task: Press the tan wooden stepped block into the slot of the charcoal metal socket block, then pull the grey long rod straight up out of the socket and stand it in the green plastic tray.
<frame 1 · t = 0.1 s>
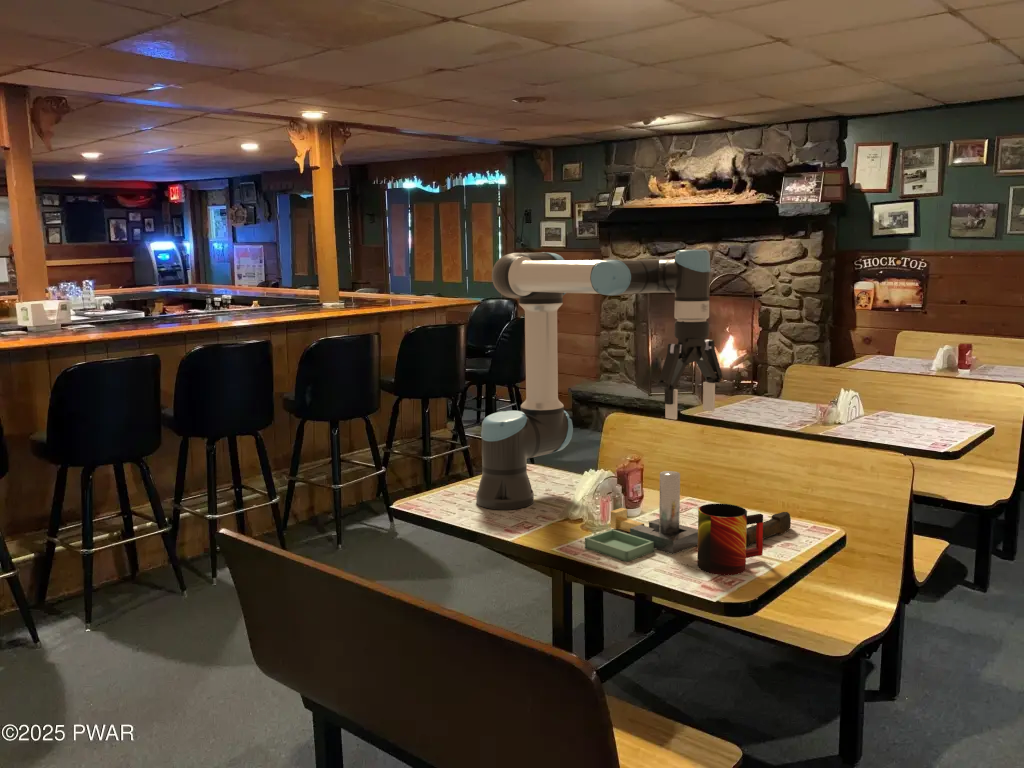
hand: (690, 414, 188), 28 cm above the table, fingers open, 13 cm apart
mug: (726, 564, 173), on the table
grey long rod: (669, 543, 186), resting in socket block
socket block: (665, 542, 186), on the table
tan wooden stepped block: (628, 521, 194), point 2 cm above the table, slide at 0.0 cm
tray: (619, 549, 182), on the table
hand tool: (763, 538, 189), on the table
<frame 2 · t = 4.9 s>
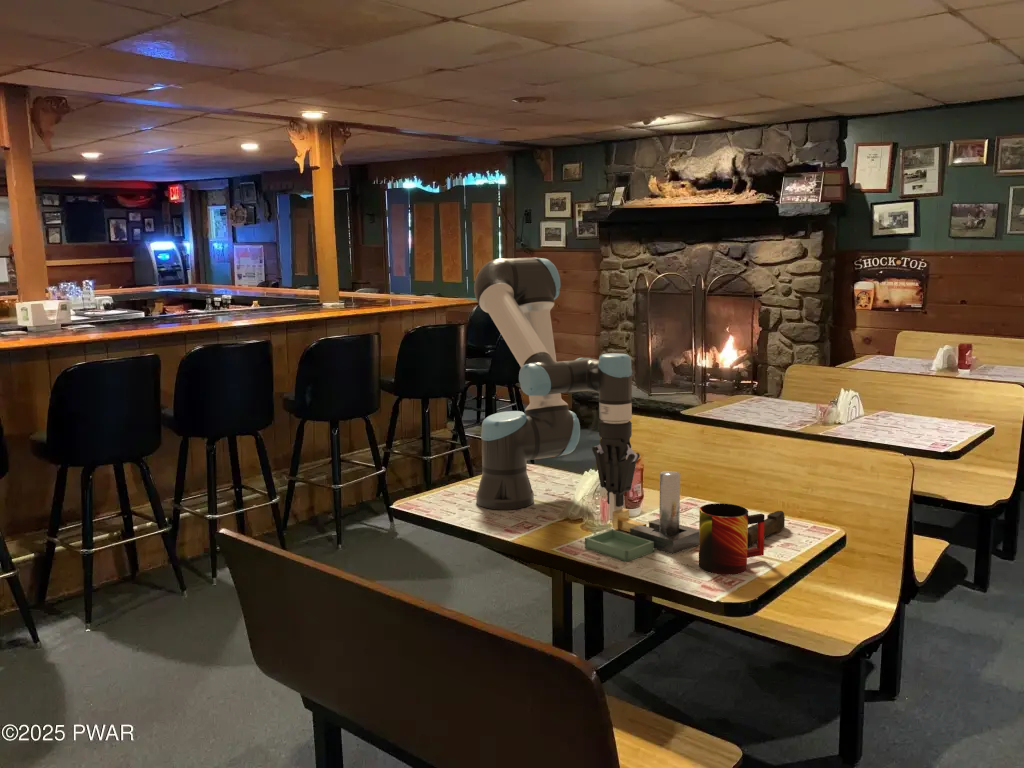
hand: (615, 518, 197), 2 cm above the table, fingers closed
tan wooden stepped block: (630, 522, 194), point 2 cm above the table, slide at 0.6 cm, touching gripper
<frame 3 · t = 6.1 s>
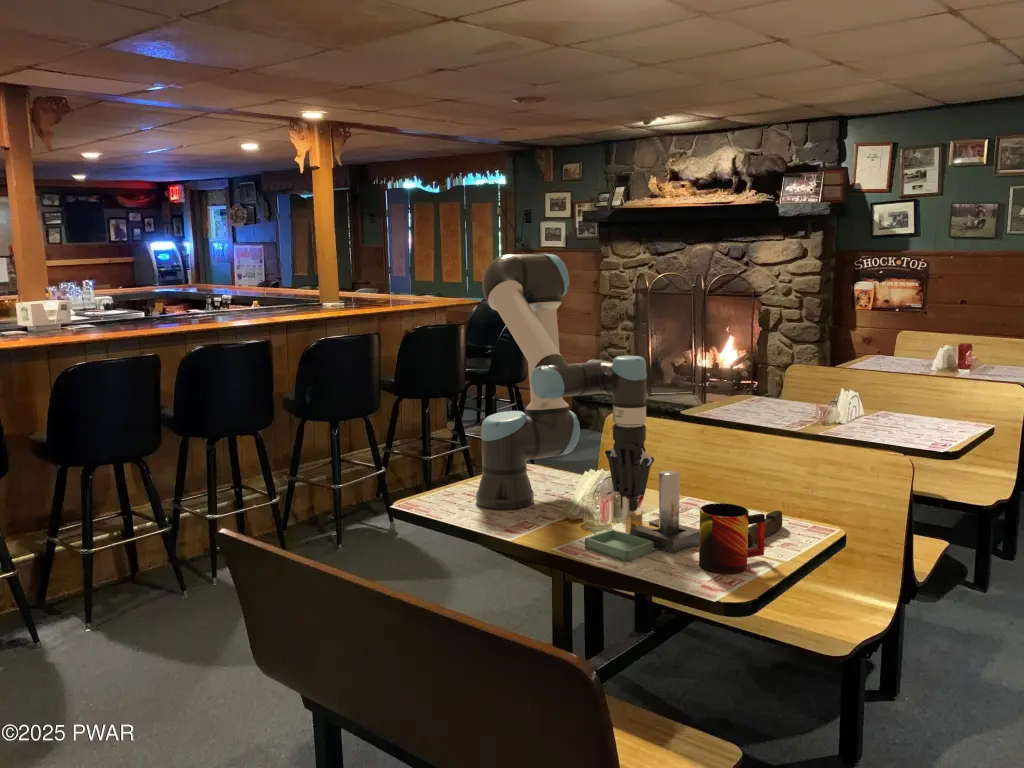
hand: (628, 523, 194), 2 cm above the table, fingers closed
tan wooden stepped block: (644, 525, 191), point 2 cm above the table, slide at 4.6 cm, touching gripper
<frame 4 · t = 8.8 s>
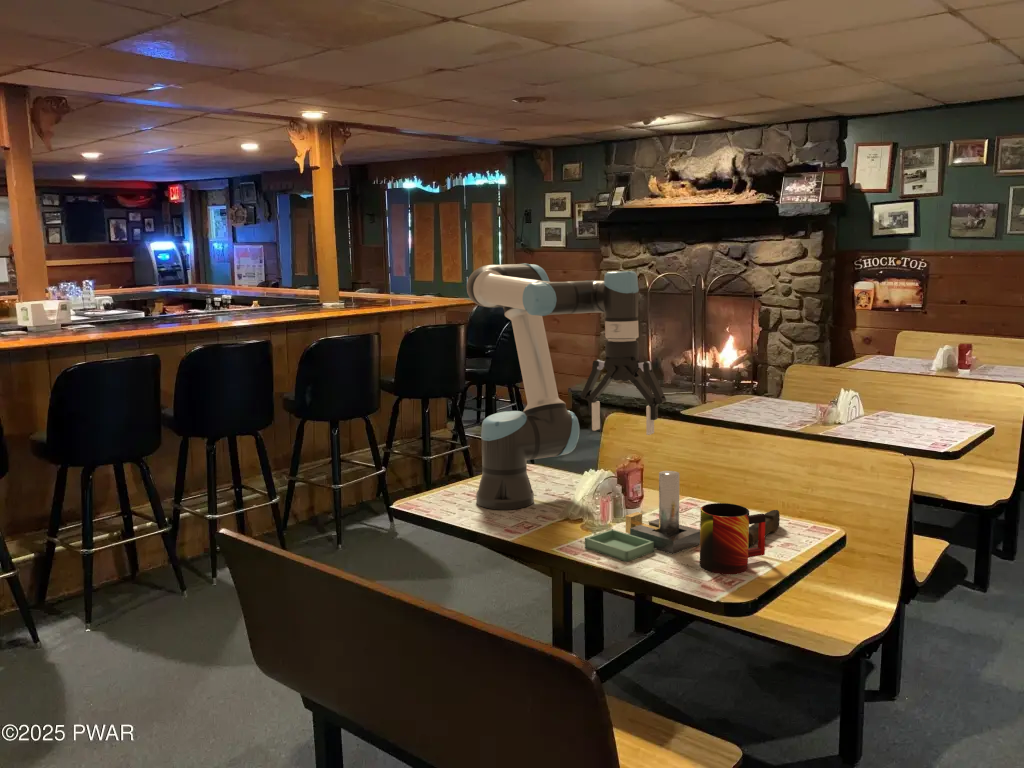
hand: (622, 431, 192), 23 cm above the table, fingers open, 13 cm apart
tan wooden stepped block: (644, 525, 191), point 2 cm above the table, slide at 4.6 cm
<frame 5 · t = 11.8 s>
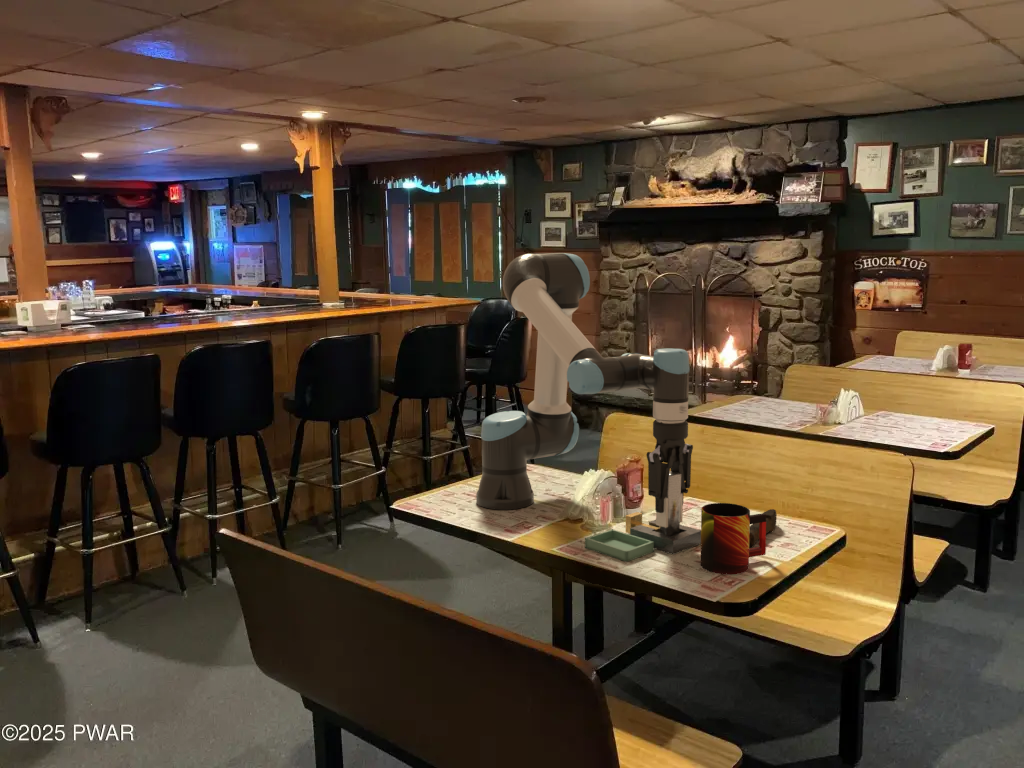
hand: (669, 523, 185), 5 cm above the table, fingers closed on grey long rod, 4 cm apart
grey long rod: (669, 543, 186), resting in socket block, touching gripper
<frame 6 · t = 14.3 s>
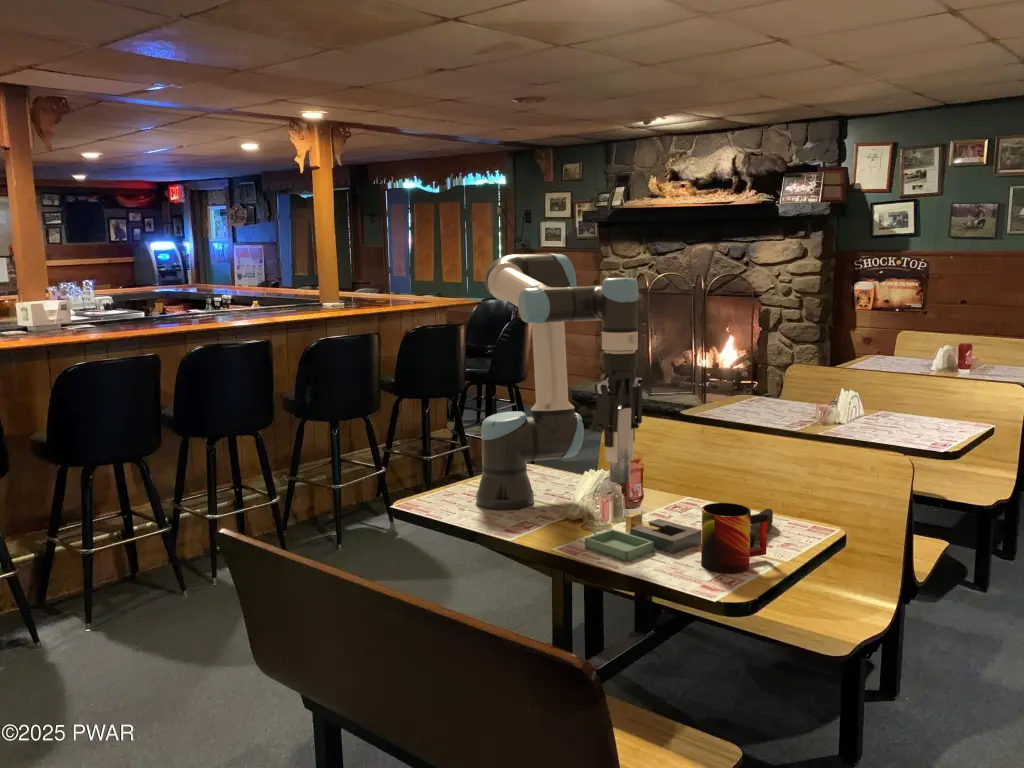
hand: (619, 459, 179), 20 cm above the table, fingers closed on grey long rod, 4 cm apart
grey long rod: (619, 480, 180), point 16 cm above the table, touching gripper
when the fingers open (6 cm above the table, at t = 17.0 s): grey long rod stays where it is, resting on tray.
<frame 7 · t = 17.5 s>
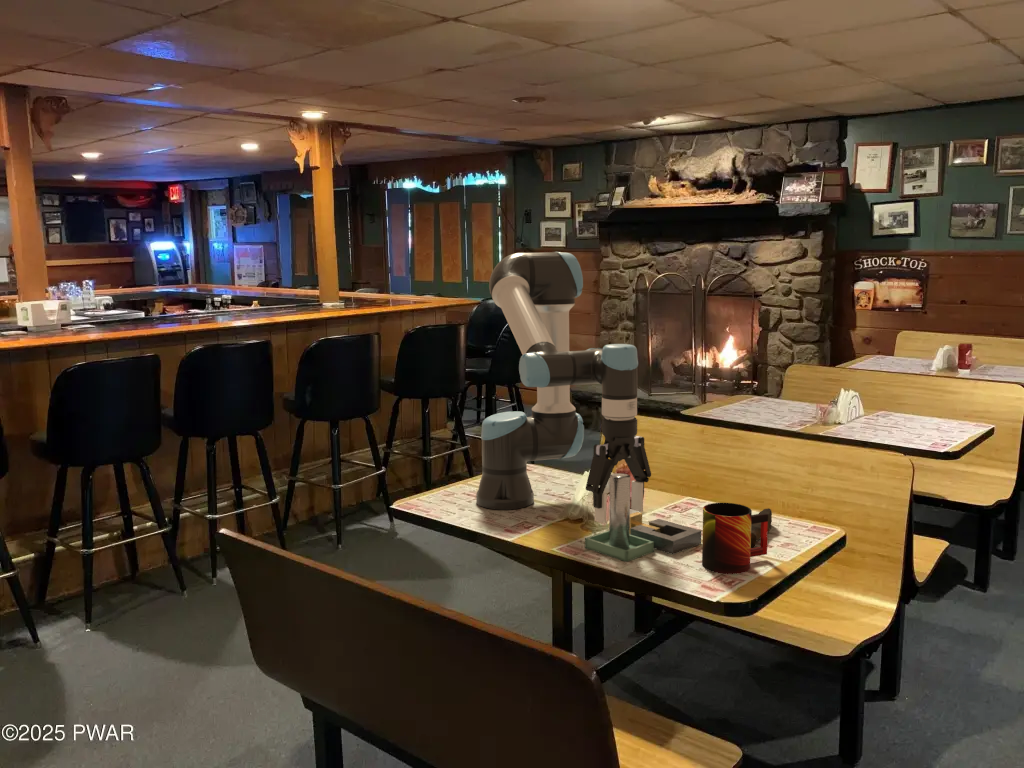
hand: (619, 516, 181), 8 cm above the table, fingers open, 11 cm apart
grey long rod: (619, 547, 182), point 1 cm above the table, touching tray
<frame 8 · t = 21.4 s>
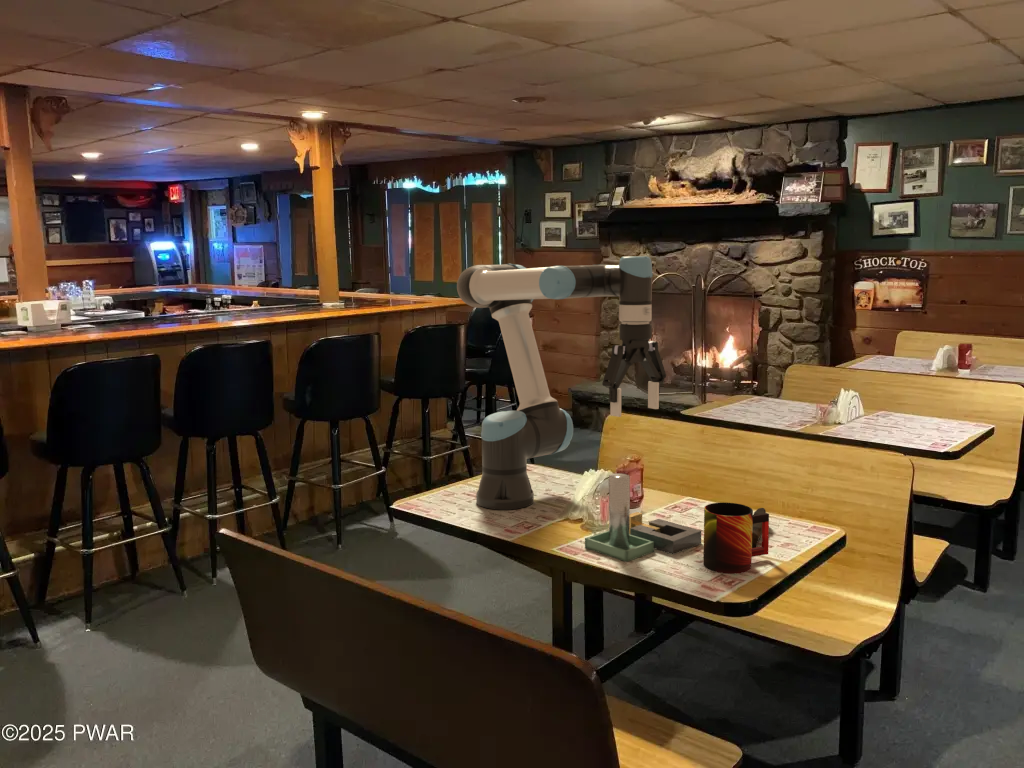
hand: (635, 412, 198), 27 cm above the table, fingers open, 13 cm apart
at the end: grey long rod inside the target area on the tray (0.0 cm from its centre), point 0.5 cm above the tray's base; grey long rod tilted 0°; tan wooden stepped block slide at 4.6 cm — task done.
